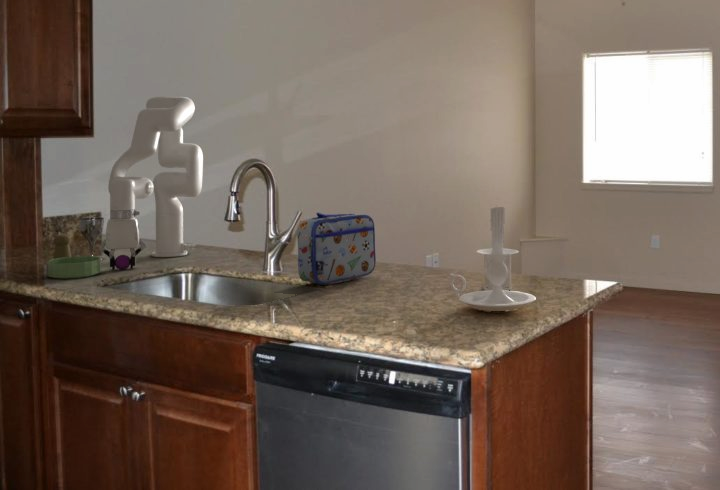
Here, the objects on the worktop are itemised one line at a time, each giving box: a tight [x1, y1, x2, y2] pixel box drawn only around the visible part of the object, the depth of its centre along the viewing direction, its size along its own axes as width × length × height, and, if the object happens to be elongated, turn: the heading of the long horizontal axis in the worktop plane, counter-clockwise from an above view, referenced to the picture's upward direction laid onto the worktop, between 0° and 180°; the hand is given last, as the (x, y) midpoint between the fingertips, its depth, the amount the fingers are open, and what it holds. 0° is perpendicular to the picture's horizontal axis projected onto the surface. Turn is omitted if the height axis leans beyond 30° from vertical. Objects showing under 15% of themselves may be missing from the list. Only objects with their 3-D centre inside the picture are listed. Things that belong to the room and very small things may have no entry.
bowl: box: [46, 255, 102, 280], centre depth 257 cm, size 15×15×5 cm
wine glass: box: [78, 216, 105, 261], centre depth 288 cm, size 8×8×15 cm
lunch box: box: [296, 212, 377, 286], centre depth 250 cm, size 28×10×22 cm, turn 144°
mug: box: [482, 247, 513, 291], centre depth 237 cm, size 12×8×12 cm
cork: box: [53, 234, 72, 259], centre depth 272 cm, size 6×6×11 cm
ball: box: [115, 254, 130, 271], centre depth 268 cm, size 5×5×5 cm
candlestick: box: [448, 205, 537, 313], centre depth 212 cm, size 21×25×28 cm
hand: (122, 268), depth 268 cm, fingers closed on ball, 4 cm apart
